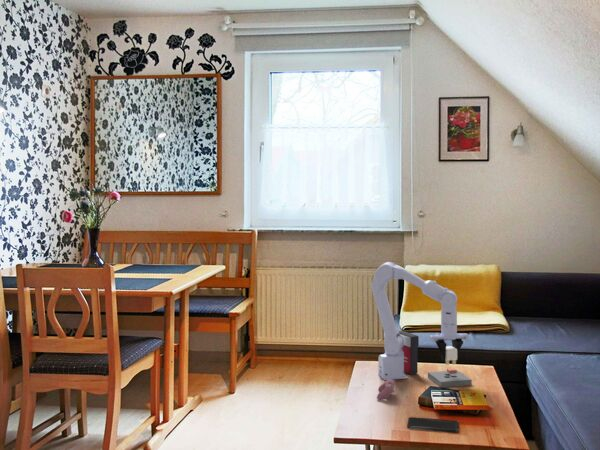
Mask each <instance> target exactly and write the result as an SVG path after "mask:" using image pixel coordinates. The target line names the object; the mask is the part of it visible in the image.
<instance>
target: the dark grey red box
mask: <svg viewBox="0 0 600 450" xmlns="http://www.w3.org/2000/svg"><path fill="white" fill-rule="evenodd" d="M398 331H399V334H400V335H401V336H402V338H403V339H404V346H403V347H402V348H401V349H402V351H403V352H404V373H406V374H409V375H411V376H412V375H417V374H418V348H419V344H420V343H419V341H420V339H419V335H417V334H414V333H411V332H407V331H405V330H398Z"/></svg>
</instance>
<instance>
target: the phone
mask: <svg viewBox="0 0 600 450" xmlns="http://www.w3.org/2000/svg"><path fill="white" fill-rule="evenodd" d="M406 428H407V429H409V430H419V431H427V432H441V433H449V434H450V433H452V434H458V433H459V431H460V429H459V428H460V425H459V420H454V419H453V420H451V419H441V418H428V417H417V416H415V417H414V416H410V417H408V419H407V423H406Z"/></svg>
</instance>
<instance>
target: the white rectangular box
mask: <svg viewBox="0 0 600 450" xmlns="http://www.w3.org/2000/svg"><path fill="white" fill-rule="evenodd" d="M444 361H445V362H444V363H445V365H446V366H447V365H450V361H451V364H452V365H456V364H457V361H458V357H457V349H456V348H454V347H452V345H446V359H445V360H444Z"/></svg>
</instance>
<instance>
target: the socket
mask: <svg viewBox="0 0 600 450" xmlns="http://www.w3.org/2000/svg"><path fill="white" fill-rule="evenodd" d="M427 378H428V379H429V380H430V381H432V382H433V383H435V384H436V385H437V386H438V387H440V388H449V387H461V386H462V387H463V386H472V378H470V377H469V376H467V375H465V374H464V373H462V372H460V371H459V370H458V369H456V368H447V370H444V371H443V370H442V371H430V372H429V371H428V372H427Z"/></svg>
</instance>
